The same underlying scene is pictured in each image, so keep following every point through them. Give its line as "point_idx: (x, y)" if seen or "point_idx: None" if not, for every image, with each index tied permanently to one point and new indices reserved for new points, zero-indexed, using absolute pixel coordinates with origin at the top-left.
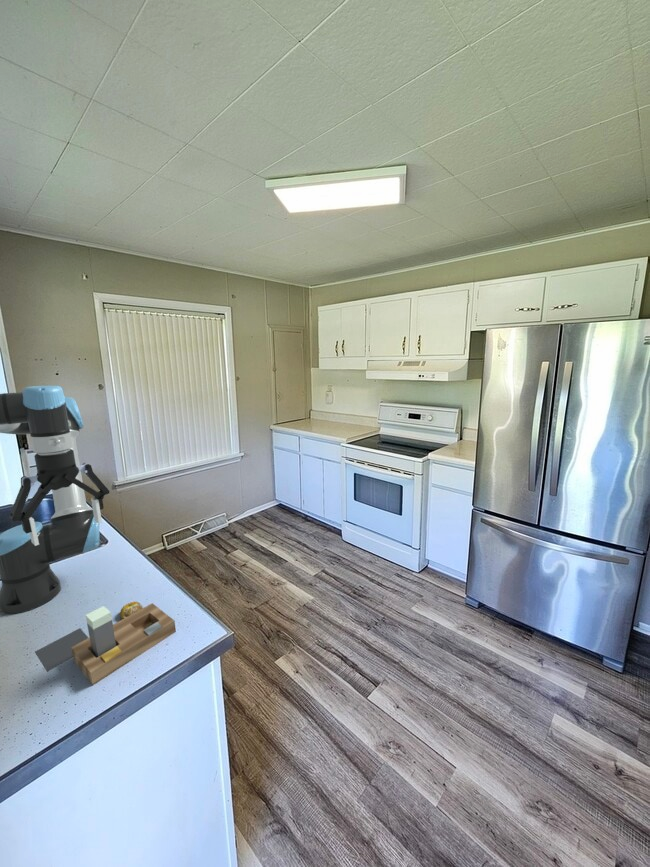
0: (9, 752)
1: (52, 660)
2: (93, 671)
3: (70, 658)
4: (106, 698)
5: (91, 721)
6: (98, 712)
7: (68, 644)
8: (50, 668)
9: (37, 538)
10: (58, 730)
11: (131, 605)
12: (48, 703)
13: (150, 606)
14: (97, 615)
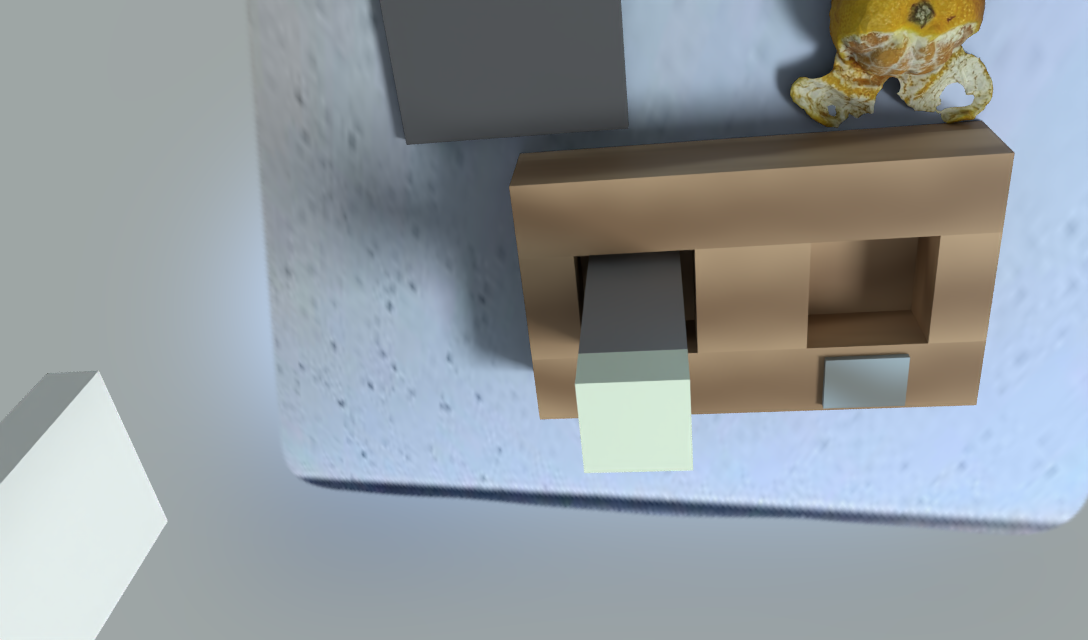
0: (283, 419)
1: (434, 77)
2: (551, 417)
3: (508, 136)
4: (570, 453)
5: (505, 498)
6: (531, 484)
7: (522, 2)
8: (420, 133)
9: (108, 603)
10: (414, 454)
11: (923, 28)
12: (397, 318)
13: (983, 180)
14: (626, 441)
